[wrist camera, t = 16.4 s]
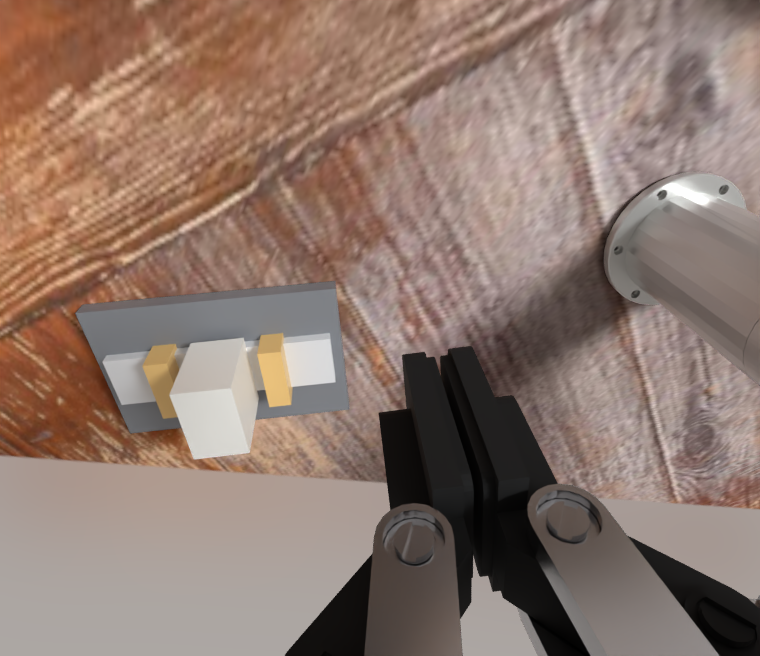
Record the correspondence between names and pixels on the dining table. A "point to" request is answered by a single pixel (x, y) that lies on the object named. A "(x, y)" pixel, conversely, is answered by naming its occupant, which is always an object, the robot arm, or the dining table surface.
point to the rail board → (220, 322)
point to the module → (216, 398)
